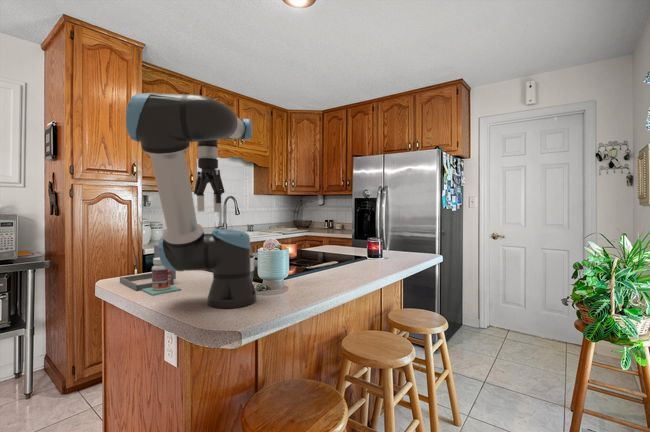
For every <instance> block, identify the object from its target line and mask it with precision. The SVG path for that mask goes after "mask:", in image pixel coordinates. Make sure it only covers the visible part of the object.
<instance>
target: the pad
mask: <svg viewBox="0 0 650 432" xmlns="http://www.w3.org/2000/svg"><path fill="white" fill-rule="evenodd" d="M141 291H142V292H144V293H146V294H148V295H150V296H152V295H153V296H157V295H158V294H159V295H164V294H168V293H169V294H170V293H174V292H179V291H182V288H181V287H177V286H176V285H174V284H173V285H171V287H170V288H169V289H167V290H159V291H157V290H153V289H152V287H151V288H145V289H142V290H141ZM163 293H164V294H163Z"/></svg>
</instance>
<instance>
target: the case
mask: <svg viewBox="0 0 650 432" xmlns="http://www.w3.org/2000/svg"><path fill="white" fill-rule="evenodd" d="M154 258H160V257H159V244H157V245H156V244H154V245H153V259H154ZM154 265H155V264H153V266H154ZM176 273H177V271H171V270H170V274H171V285H173V286H174V280H176V278H177V277H176V276H177V275H176ZM147 279H152V272H151V273H150V272H148V273H143V274H135V275H128V276H122V277H119V283H120V284H121V285H124V286H126V287H128V288H130V289H131V290H134V291H136V292H140V291H142V289H145V288H151V287H152V282H148V283H142V284H138V283H135V281H141V280H147Z"/></svg>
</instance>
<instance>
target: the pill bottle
mask: <svg viewBox="0 0 650 432" xmlns="http://www.w3.org/2000/svg"><path fill="white" fill-rule="evenodd" d="M152 263H153V266H151V273H152V278H151V283H152V289H153V290H157V291H159V290H167V289H169V288H170V287H171V274H170V270H168V269H166V268H165V267H164V266H163V264H162V263H161V260H160V258H154V257H153V258H152ZM154 264H155V265H154Z"/></svg>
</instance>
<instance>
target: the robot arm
mask: <svg viewBox="0 0 650 432" xmlns="http://www.w3.org/2000/svg"><path fill="white" fill-rule="evenodd" d="M125 127H126V131H127V134H128V136H129V137H130V139H131V140H132V141H135V142H139V143H140V146H141V150H142V151H143V152H144V153H145V154H147V155H149V157H150V160H151V165H152V169H153V173H154V180H155V182H156V187H157V191H158V195H159V199H160V200H159V201H160V204H161V208H162V213H163V217H164V221H165V226H166V229H165V230H164V231H163V233H162V236H160V238H159V242H158V246H159V257H160V260H161V263H162V264H163V266H164V267H165V268H166V269H168V270H171V271H176V272H186V271H187V272H189V271H194V272H195V271H212V275H213V276H212V277H213V278H212V281H211V282H212V283H211V285H210V290H209V292H208V296H207V304H208V306H209V307H212V308H216V309H234V308H235V309H236V308H243V307H246V306H249V305H252V304H254V303H256V301H257V292H256V290H255V285H254V283H253V281H252V277H251V247H252V245H251V238H250V235H249V234H248V233H247V232H246V231H240V230H234V229H222V228H216V229H213V230H212V232H211V233H205V231H204V228H203V226H202V224H199V223H198V221H197V215H196V211H197V212H198V213H199V212H205V194H204V193H205V190H206V187H207V185H208V184H210V186H211V189H212V190H213V194H212V195H213V213H221V212H222V195H223V194H225V192H226V191H225V189H224V185H223V181H222V178H221V170H220V169H218V168H219V160H218V158H219V155H218V154H219V151H218V149H219V146H218V144H219V143H218V140H241V141H245V140H251V139H252V138H253V122H252V120H251V119H249V118H239V117H238V116H237V114H236V113H235V111H234V110H233V109H232V108H231V107H229V106H228V105H227V104H225V103H223V102H221V101H218V100H217V99H214V98H211V97H208V96H203V95H200V94H194V93H193V94H192V93H191V94H183V93H182V94H181V93H180V94H179V93H162V92H161V93H160V92H153V91H152V92H148V93H147V92H143V93H136V94H134V95H132V96H131V98H130V99H129V101H128V103H127V107H126V110H125ZM193 142H194V143H197V158H198V159H197V167H198V168H199V169H201V171H197V173H196V181H195V186H194V191H193V192H192V185H191V181H190V176H189V175H190V174H189V168H188V163H187V157H186V151H188V149H189V148H190V146H191V145H190V143H193ZM193 194H194V195H196V206H197V208H196V209H197V210H195V204H194V198H193Z"/></svg>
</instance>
